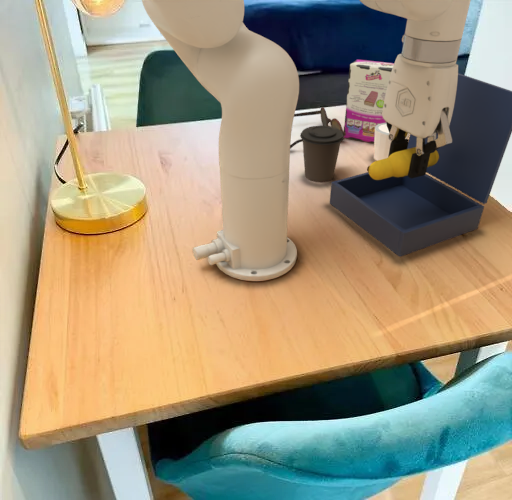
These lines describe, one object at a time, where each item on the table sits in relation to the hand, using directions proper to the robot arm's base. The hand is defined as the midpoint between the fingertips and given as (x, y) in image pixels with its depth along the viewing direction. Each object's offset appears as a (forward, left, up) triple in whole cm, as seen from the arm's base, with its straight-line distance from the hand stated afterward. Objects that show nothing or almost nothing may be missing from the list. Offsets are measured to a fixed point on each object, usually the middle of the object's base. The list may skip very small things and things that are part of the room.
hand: (406, 168), depth 80 cm
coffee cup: (-3, +19, -10) cm, 22 cm away
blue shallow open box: (+1, 0, -10) cm, 10 cm away
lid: (+9, 0, +4) cm, 10 cm away
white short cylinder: (+14, +19, -10) cm, 25 cm away
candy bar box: (+18, +30, -10) cm, 36 cm away
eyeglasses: (+5, +38, -10) cm, 40 cm away
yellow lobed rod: (0, 0, -1) cm, 1 cm away
